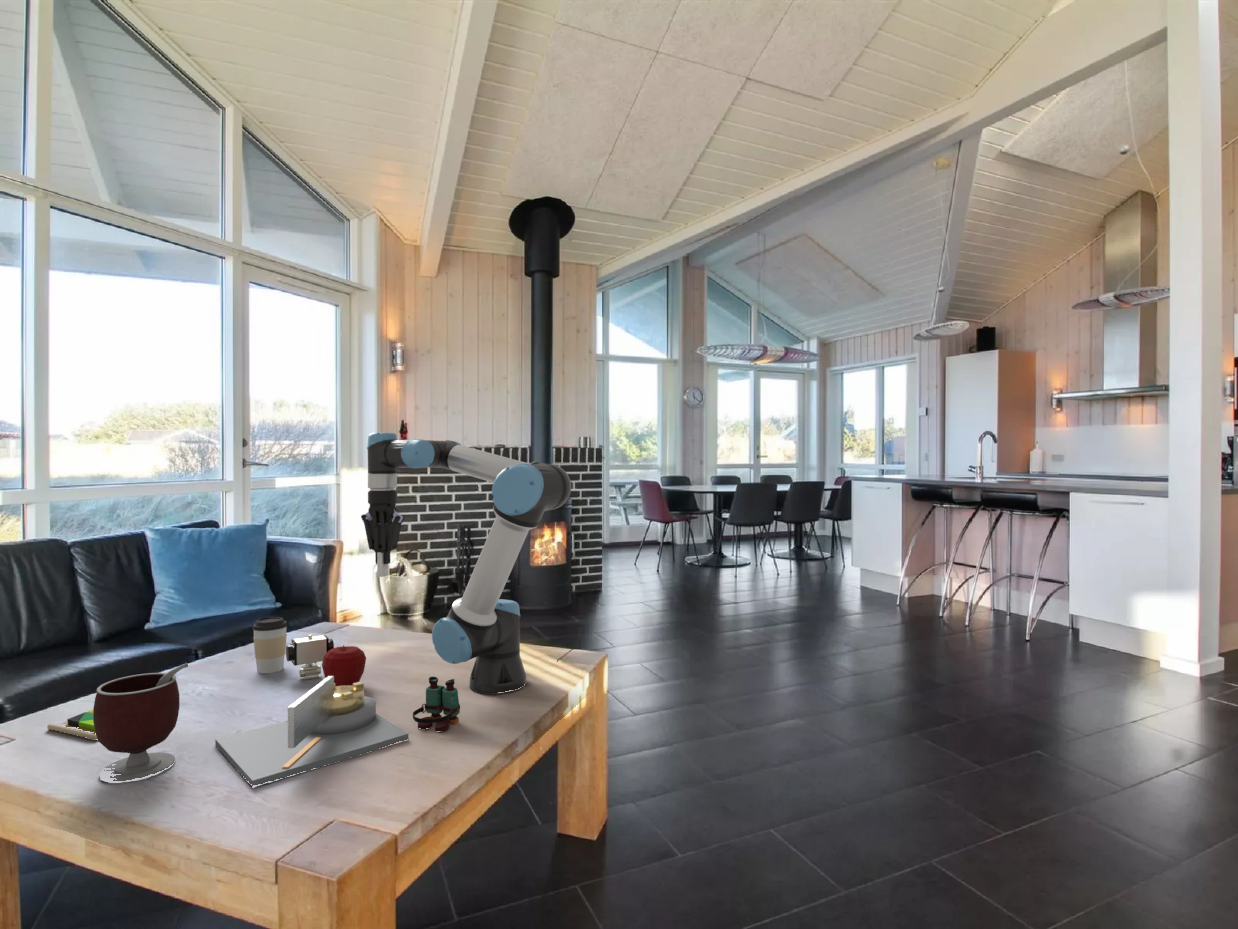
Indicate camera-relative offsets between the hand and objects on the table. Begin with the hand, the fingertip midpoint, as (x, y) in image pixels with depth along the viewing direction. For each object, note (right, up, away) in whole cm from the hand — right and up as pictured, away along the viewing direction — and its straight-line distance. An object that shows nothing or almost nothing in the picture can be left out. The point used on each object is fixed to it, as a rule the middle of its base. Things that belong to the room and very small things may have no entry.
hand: (383, 575), depth 185 cm
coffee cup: (-37, -30, +12) cm, 49 cm away
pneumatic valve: (-23, -30, +6) cm, 38 cm away
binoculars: (+23, -30, -30) cm, 48 cm away
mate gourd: (-30, -30, -50) cm, 66 cm away
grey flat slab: (-2, -30, -39) cm, 49 cm away
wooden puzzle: (-54, -31, -26) cm, 67 cm away
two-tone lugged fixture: (0, -25, -39) cm, 46 cm away
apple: (-9, -30, -4) cm, 31 cm away
